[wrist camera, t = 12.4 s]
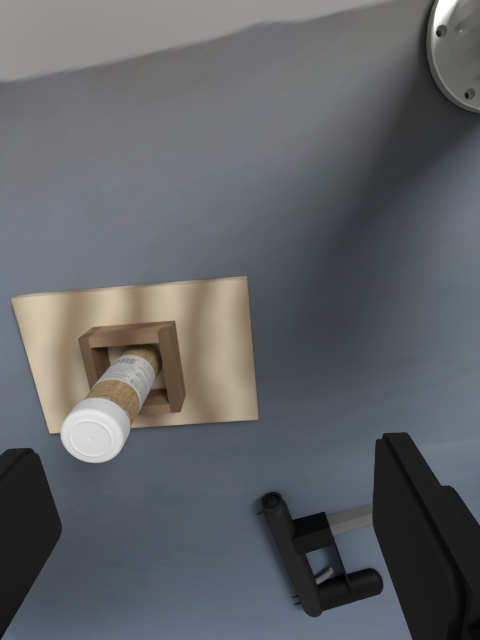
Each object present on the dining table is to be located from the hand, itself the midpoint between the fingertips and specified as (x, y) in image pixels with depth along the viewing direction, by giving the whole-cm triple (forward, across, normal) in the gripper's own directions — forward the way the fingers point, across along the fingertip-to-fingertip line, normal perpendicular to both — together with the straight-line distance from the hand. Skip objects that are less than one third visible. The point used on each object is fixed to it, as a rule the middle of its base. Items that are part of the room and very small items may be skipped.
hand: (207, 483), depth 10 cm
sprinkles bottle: (+26, +12, +8) cm, 30 cm away
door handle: (+28, -9, +36) cm, 47 cm away
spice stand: (+28, +12, +8) cm, 31 cm away
